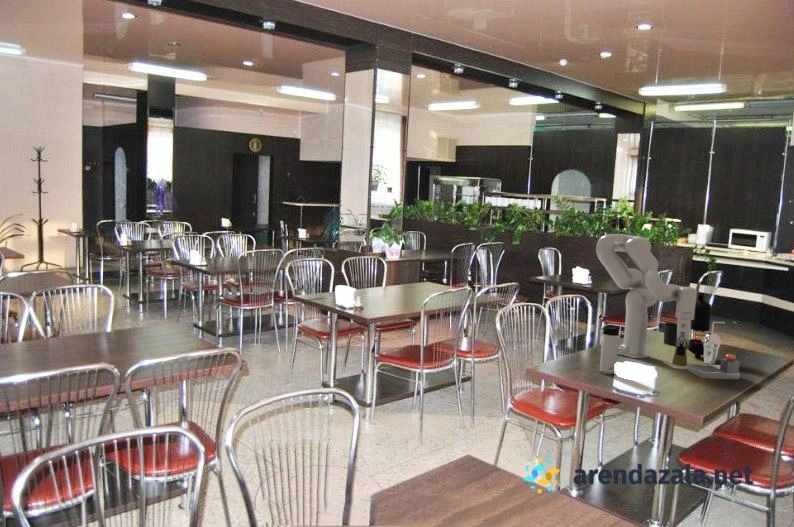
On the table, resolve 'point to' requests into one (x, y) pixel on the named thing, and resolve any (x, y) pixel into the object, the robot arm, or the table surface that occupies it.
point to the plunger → (730, 357)
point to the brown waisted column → (680, 359)
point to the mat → (675, 365)
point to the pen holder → (670, 333)
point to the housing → (716, 370)
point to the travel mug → (609, 349)
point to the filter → (700, 326)
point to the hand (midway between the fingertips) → (681, 353)
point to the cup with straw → (711, 346)
